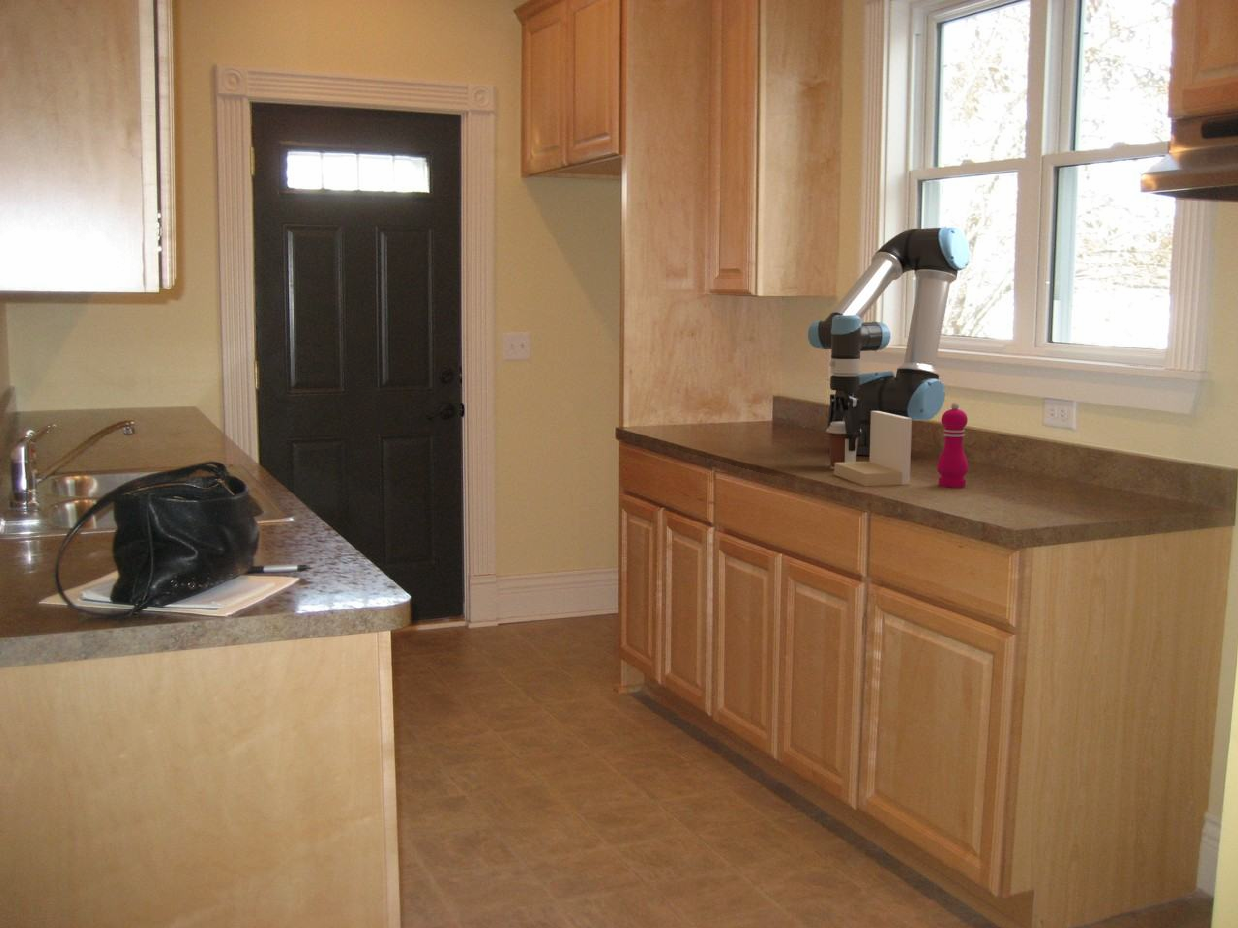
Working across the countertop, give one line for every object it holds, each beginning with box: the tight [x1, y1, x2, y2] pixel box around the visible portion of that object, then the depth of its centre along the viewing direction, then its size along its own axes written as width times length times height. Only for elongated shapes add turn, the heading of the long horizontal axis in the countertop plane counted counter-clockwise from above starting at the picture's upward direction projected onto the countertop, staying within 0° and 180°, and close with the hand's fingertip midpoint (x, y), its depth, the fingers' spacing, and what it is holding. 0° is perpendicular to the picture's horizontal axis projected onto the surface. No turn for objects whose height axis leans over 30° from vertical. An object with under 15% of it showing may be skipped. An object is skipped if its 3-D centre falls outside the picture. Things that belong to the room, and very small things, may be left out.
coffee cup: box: [825, 420, 861, 470], centre depth 322 cm, size 9×9×12 cm
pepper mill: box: [936, 402, 969, 489], centre depth 293 cm, size 7×7×20 cm
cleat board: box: [833, 411, 913, 487], centre depth 303 cm, size 12×19×16 cm, turn 13°
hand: (842, 460), depth 323 cm, fingers closed on coffee cup, 9 cm apart
